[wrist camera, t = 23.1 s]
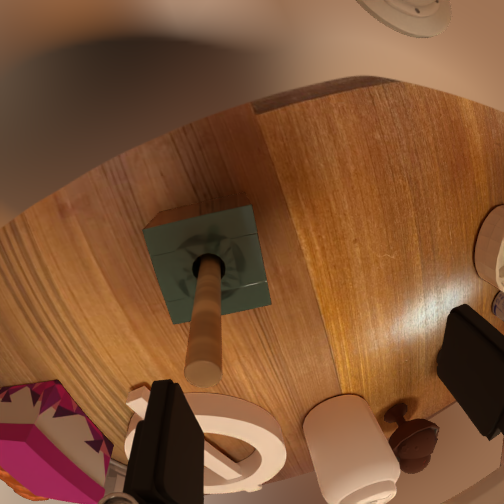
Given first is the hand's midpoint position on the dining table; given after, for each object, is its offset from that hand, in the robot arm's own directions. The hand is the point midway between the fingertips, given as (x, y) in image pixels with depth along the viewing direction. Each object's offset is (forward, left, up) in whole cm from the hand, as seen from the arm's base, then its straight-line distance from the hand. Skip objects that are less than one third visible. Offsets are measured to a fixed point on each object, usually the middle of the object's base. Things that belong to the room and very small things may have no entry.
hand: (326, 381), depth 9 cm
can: (+39, +8, -27) cm, 48 cm away
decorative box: (+30, -45, -27) cm, 61 cm away
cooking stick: (+3, -5, -27) cm, 28 cm away
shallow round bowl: (+13, +41, -27) cm, 51 cm away
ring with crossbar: (+39, -16, -27) cm, 50 cm away
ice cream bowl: (+45, +21, -27) cm, 56 cm away
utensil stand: (+3, -5, -27) cm, 28 cm away
